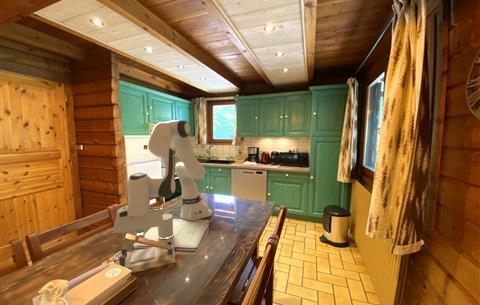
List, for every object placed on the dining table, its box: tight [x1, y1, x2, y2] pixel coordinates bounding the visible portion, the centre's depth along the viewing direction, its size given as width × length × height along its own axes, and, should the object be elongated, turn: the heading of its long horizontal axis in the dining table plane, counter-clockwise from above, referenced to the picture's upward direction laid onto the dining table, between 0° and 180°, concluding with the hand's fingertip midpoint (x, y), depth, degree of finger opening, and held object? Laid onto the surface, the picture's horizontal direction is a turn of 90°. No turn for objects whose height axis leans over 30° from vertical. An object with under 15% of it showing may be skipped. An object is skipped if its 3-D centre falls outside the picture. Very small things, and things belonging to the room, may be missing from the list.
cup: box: [157, 213, 174, 238], centre depth 115 cm, size 8×8×12 cm
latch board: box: [117, 239, 176, 274], centre depth 93 cm, size 24×12×7 cm, turn 113°
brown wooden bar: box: [124, 233, 171, 250], centre depth 93 cm, size 22×4×2 cm, turn 115°
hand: (140, 237), depth 91 cm, fingers closed
